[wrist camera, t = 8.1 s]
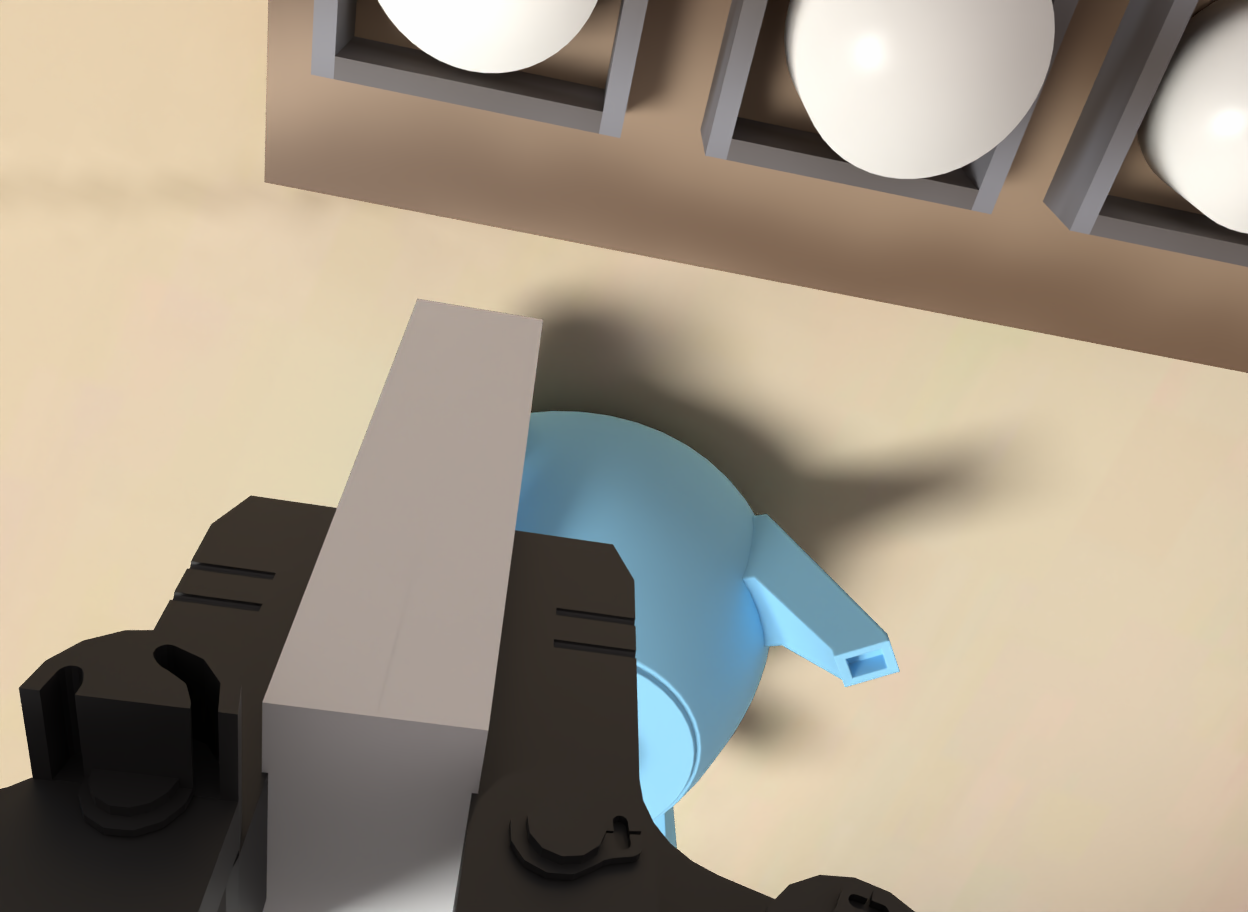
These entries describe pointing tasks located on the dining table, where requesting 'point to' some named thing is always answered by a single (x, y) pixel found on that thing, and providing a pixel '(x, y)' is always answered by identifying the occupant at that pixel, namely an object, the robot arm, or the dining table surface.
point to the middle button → (917, 77)
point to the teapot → (690, 586)
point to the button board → (776, 166)
